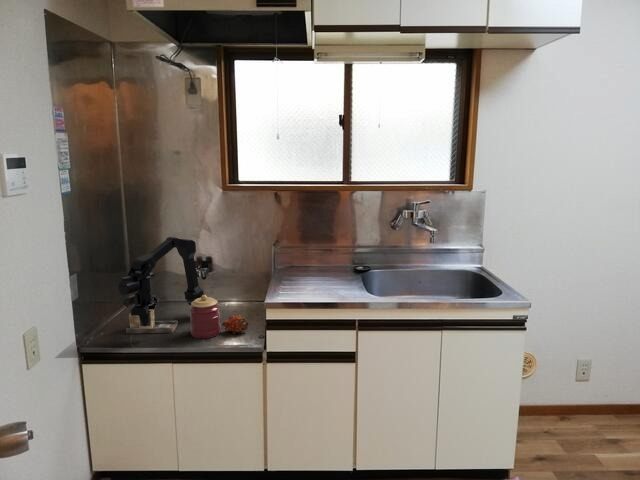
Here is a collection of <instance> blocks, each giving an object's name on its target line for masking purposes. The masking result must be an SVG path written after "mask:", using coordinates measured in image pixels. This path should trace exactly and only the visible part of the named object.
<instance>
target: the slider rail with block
mask: <svg viewBox="0 0 640 480" xmlns="http://www.w3.org/2000/svg"><path fill="white" fill-rule="evenodd" d="M128 319H129V320H128V321H129V327H127V328H126V330H125V332H126V334H128V335H129V334H131V335H132V334H162V333H163V334H170V333H174V331H175V329H176V328H177V327H178V325H179V324H178V323H179V322H178V320H155V326H154V327H153V328H152V329H140V325H139V316H138V315H131V313H129V314H128Z"/></svg>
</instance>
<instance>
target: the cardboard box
mask: <svg viewBox="0 0 640 480" xmlns="http://www.w3.org/2000/svg"><path fill="white" fill-rule="evenodd" d="M149 311H151V312H150V316H149V319H148V323H147V326H143V324H142V321H141V319H140V317H139V325H140V329H152V328H153V327H154V326H155V321H156V320H155V310H154V309H152V310H149Z"/></svg>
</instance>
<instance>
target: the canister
mask: <svg viewBox="0 0 640 480" xmlns="http://www.w3.org/2000/svg"><path fill="white" fill-rule="evenodd" d="M218 303H219V302H218V300H217V299H215V298H213V297H211V296H207V295H206V294H204V295H202V296H201V298H198V299H195V300H194V301H193V302H192V303H191V305H190V307H189V308H188V309H189V310H188V311H189V312H190V314H189V321H190V322H189V323H190V334H191V336H192V337H194V338H195V339H210V338H215V337H216V336H218V335H219V334H221V330H222V325H221V312H220V309H221V307H220V306H221V305H220V304H218Z"/></svg>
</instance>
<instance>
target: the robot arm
mask: <svg viewBox="0 0 640 480" xmlns="http://www.w3.org/2000/svg"><path fill="white" fill-rule="evenodd" d="M196 245H197V244H196V242H195V241H194V239H187V238H178V237H176V236H175V237H174V236H168V237H167V238H166V239H165V240H164V241H162V242H161V243H160V244H159V245H157V246H156V247H155V248H154V249H152V250H151V251H150V252H149V253H147V254H144V255H140V256H139V257H137V258H135V259H134V260H133V261H132V265H131V267H130V268H129V271H128V272H127V277H125V276H124V277H120V281H119V282H118V286H117V289H118V292H119V293H120V294H121V295H122V296H126V295H129V296H126V297H124V298H123V299H122V305H123V306H124V307H126V308H129V306H131V305H134V306H133V307H132V308H131V309H130V311H129V312H130V313H131V315H138V316H139V317H140V319H141V321H142V324H143V326H147V323H148V319H149V316H150V312H151V311H149V310H152V309H154V311H155V310H156V308H157V305H158V304H157V303H159V302H160V296H158V294H153V292H154V289H153V287H152V279H151V278H152V277H155V276H156V274H155V273H153V272H152V271H153V270H154V269H155V267H156V265H157V263H158V262H159V261H160V260H161V259H162V258H163V257H165V256H166V255H168V253H169V252H171V251H172V250H173V249H174V248H176V250H177V253H178V255H179V256H180V257H181V259H182V261H183V267H184V272H185V277H186V283H187V288H186V290H185V291H183V293H184V299H185V301H186V302H187V304H188V305H189V306H192V305H191V303H192V302H193V301H194V300H195V299H198V298H201V296H202V295H205V293H204V290H203V288H202V287H201V286H200V285H199V279H198V273H197V269H196V264H195V262H196V261H195V255H196V253H197V248H196V247H197V246H196ZM133 293H134V294H133ZM130 294H132V295H130ZM154 302H156V303H154ZM130 313H129V314H130Z"/></svg>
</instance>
